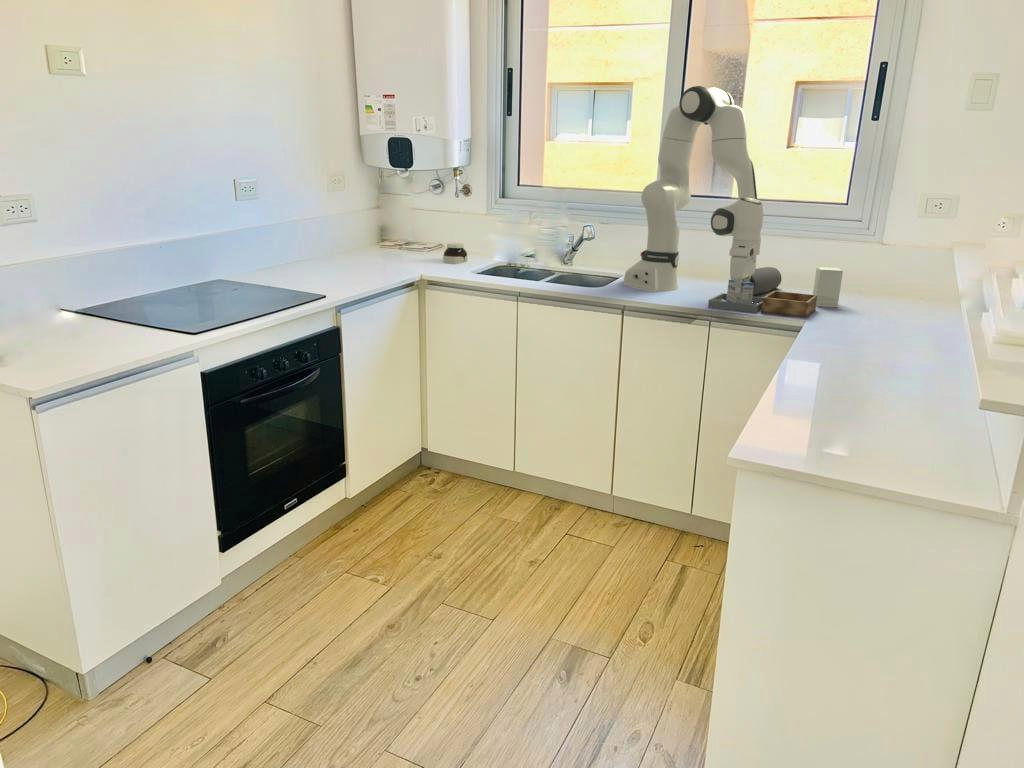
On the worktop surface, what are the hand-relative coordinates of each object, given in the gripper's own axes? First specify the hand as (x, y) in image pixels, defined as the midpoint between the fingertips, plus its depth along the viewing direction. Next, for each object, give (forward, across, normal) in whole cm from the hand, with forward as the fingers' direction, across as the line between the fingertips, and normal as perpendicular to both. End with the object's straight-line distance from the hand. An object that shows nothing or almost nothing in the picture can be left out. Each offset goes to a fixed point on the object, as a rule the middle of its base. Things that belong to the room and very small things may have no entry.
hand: (741, 290), depth 251 cm
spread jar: (+4, -4, -119) cm, 119 cm away
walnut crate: (+6, -1, +16) cm, 17 cm away
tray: (+5, 0, 0) cm, 5 cm away
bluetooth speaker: (+6, -25, 0) cm, 25 cm away
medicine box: (+6, 0, 0) cm, 6 cm away
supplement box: (+6, -21, +24) cm, 32 cm away
